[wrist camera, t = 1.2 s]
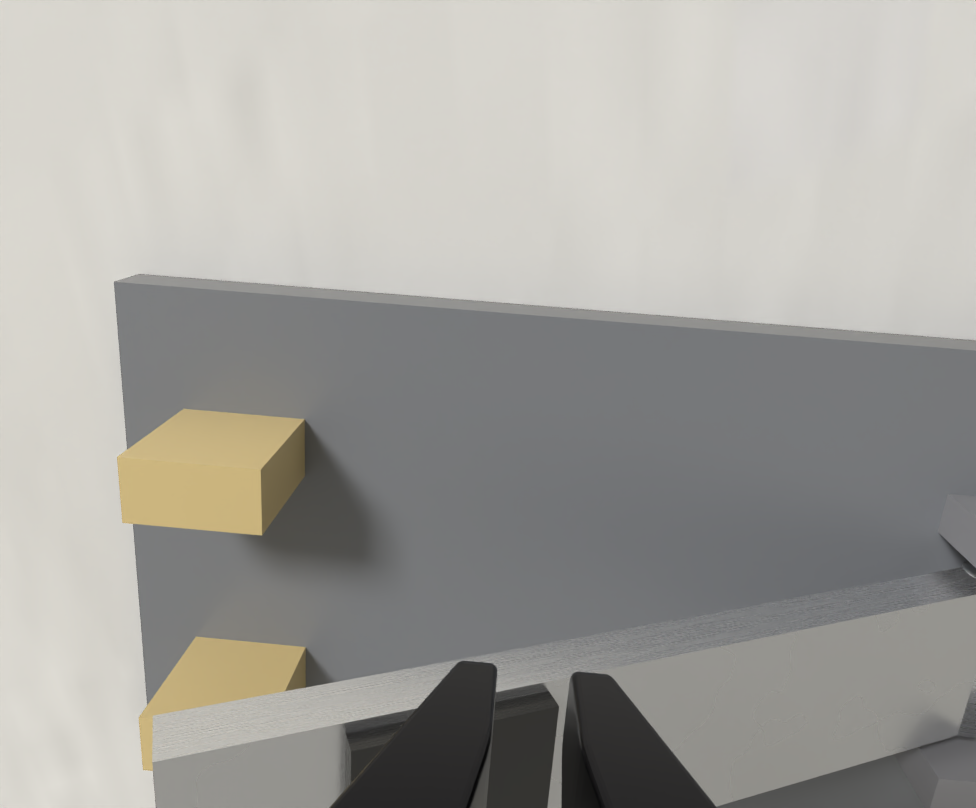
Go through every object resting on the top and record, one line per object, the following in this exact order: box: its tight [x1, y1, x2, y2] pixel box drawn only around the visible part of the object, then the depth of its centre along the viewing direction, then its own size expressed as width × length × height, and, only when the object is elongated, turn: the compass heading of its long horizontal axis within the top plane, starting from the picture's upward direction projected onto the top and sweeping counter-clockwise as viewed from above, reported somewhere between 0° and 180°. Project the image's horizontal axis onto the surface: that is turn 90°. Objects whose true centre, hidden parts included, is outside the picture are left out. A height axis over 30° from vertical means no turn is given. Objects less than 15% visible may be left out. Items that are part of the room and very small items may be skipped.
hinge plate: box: [114, 274, 976, 808], centre depth 19 cm, size 24×14×4 cm, turn 86°
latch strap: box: [152, 561, 976, 808], centre depth 16 cm, size 19×4×2 cm, turn 86°
